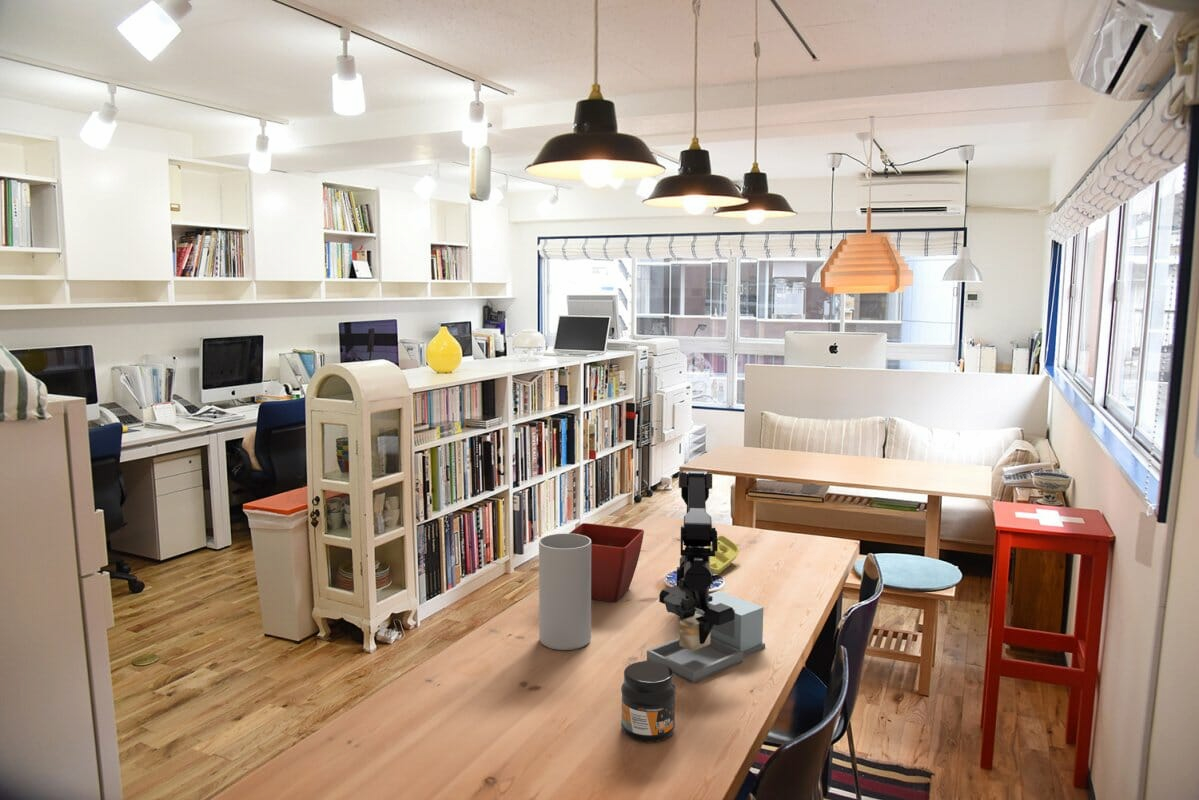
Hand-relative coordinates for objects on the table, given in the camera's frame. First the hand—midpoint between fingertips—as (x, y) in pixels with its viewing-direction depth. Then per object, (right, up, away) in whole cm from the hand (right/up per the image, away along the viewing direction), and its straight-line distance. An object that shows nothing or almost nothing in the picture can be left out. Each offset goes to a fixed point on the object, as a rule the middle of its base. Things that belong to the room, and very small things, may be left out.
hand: (695, 640), depth 192 cm
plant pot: (-21, +1, +44) cm, 49 cm away
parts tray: (0, -5, +1) cm, 5 cm away
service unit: (+9, -4, +11) cm, 15 cm away
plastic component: (+13, +3, +66) cm, 68 cm away
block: (0, -1, 0) cm, 1 cm away
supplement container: (-13, -9, -29) cm, 33 cm away
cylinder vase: (-30, -4, +12) cm, 33 cm away
